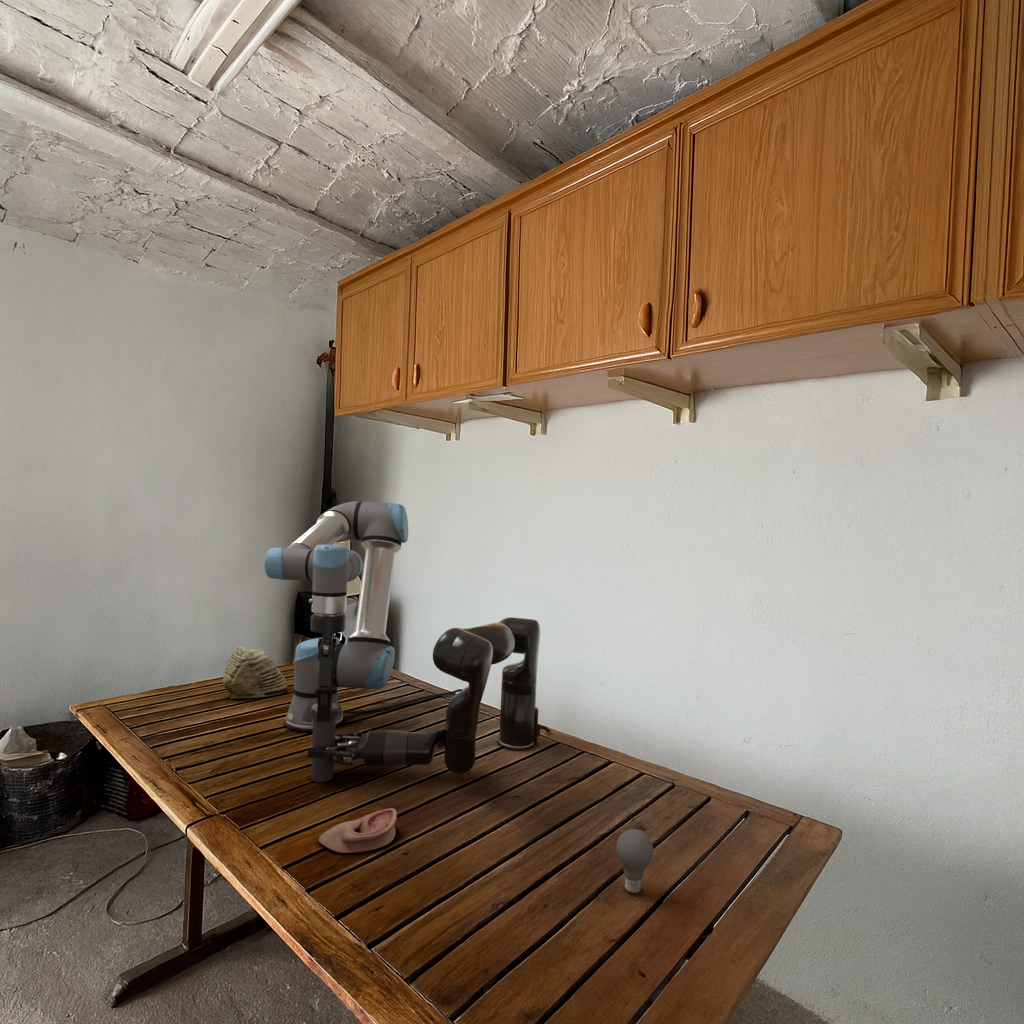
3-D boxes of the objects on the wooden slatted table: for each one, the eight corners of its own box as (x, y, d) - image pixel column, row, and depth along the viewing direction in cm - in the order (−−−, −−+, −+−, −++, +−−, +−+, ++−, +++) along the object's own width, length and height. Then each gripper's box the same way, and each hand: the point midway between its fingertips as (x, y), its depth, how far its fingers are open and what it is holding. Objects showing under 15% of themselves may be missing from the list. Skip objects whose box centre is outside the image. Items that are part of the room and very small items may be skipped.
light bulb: (610, 879, 108) (613, 822, 108) (644, 879, 109) (647, 822, 109) (619, 902, 102) (622, 840, 102) (655, 901, 103) (658, 840, 103)
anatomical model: (310, 826, 114) (340, 797, 125) (309, 848, 114) (339, 817, 125) (379, 837, 111) (403, 806, 122) (378, 859, 111) (403, 827, 123)
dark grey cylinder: (318, 771, 146) (321, 703, 146) (337, 774, 145) (340, 706, 144) (306, 779, 141) (309, 710, 141) (325, 783, 140) (328, 713, 140)
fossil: (218, 695, 195) (220, 647, 195) (278, 685, 208) (279, 640, 207) (228, 703, 189) (230, 653, 188) (289, 692, 201) (290, 645, 201)
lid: (320, 710, 146) (320, 700, 146) (343, 713, 145) (343, 703, 145) (305, 718, 141) (306, 708, 141) (329, 721, 139) (329, 711, 139)
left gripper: (314, 606, 151) (310, 701, 152) (307, 622, 131) (302, 731, 132) (346, 606, 153) (342, 700, 153) (344, 622, 133) (340, 730, 133)
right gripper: (391, 720, 151) (319, 719, 150) (384, 744, 137) (303, 742, 135) (390, 751, 151) (317, 751, 150) (382, 778, 137) (302, 777, 136)
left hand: (324, 714), depth 142 cm, fingers open, 8 cm apart
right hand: (311, 747), depth 143 cm, fingers closed on dark grey cylinder, 5 cm apart
